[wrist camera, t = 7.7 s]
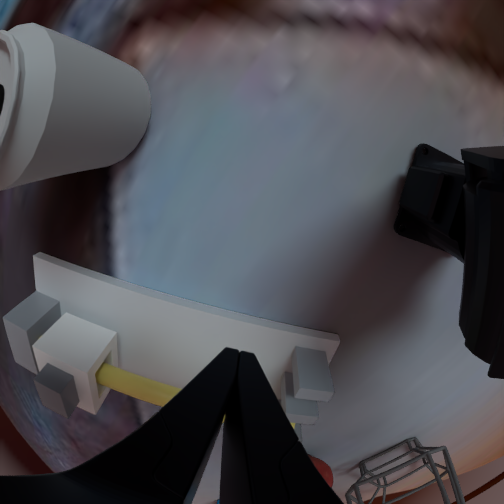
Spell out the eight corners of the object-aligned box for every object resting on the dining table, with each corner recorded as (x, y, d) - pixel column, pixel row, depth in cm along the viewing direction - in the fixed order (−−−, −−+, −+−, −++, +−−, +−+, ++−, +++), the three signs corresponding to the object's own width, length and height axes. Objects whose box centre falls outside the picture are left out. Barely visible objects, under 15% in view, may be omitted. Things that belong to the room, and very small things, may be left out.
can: (108, 188, 19) (-26, 239, 7) (54, 125, 17) (-73, 135, 6) (179, 106, 17) (57, 62, 5) (114, 46, 15) (-6, -6, 4)
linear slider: (338, 334, 21) (354, 388, 16) (289, 424, 25) (291, 473, 20) (39, 251, 21) (-5, 279, 15) (53, 353, 25) (24, 386, 19)
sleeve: (116, 332, 20) (73, 392, 14) (118, 375, 22) (85, 433, 15) (66, 312, 20) (17, 361, 14) (72, 355, 22) (33, 405, 15)
